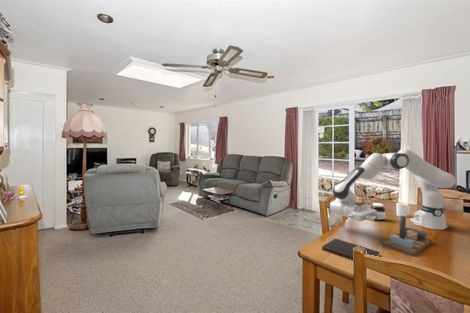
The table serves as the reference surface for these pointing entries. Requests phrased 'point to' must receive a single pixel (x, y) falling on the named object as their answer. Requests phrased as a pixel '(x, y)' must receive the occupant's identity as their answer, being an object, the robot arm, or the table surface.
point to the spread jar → (379, 211)
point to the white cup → (401, 209)
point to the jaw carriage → (402, 235)
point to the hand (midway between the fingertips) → (378, 217)
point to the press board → (418, 244)
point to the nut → (412, 235)
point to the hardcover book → (344, 249)
